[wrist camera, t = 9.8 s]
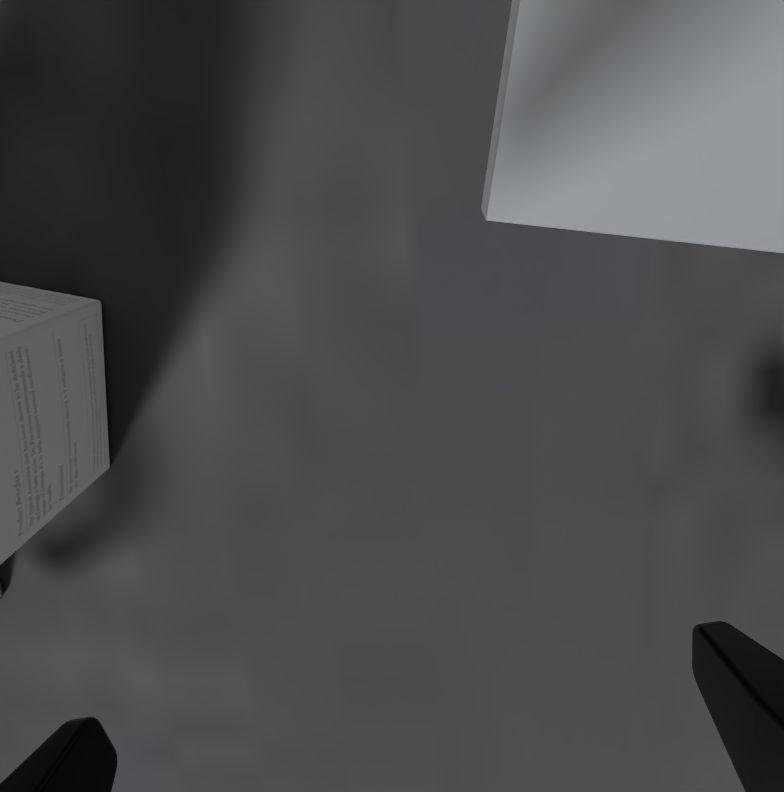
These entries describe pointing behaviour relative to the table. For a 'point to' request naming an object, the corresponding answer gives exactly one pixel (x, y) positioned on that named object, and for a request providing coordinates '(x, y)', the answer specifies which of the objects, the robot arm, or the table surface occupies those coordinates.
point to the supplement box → (48, 407)
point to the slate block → (643, 120)
